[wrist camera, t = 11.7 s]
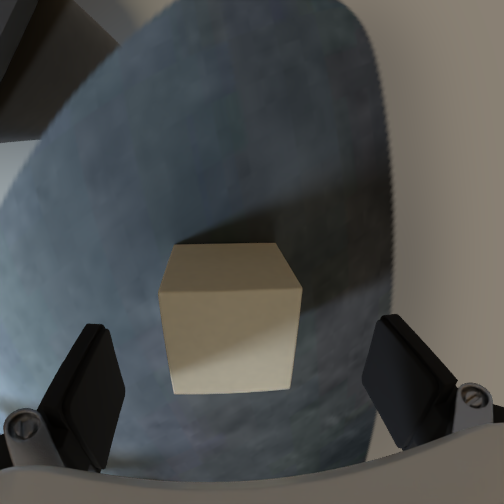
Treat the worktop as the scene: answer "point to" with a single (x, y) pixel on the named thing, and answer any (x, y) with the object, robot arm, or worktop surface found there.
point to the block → (229, 318)
